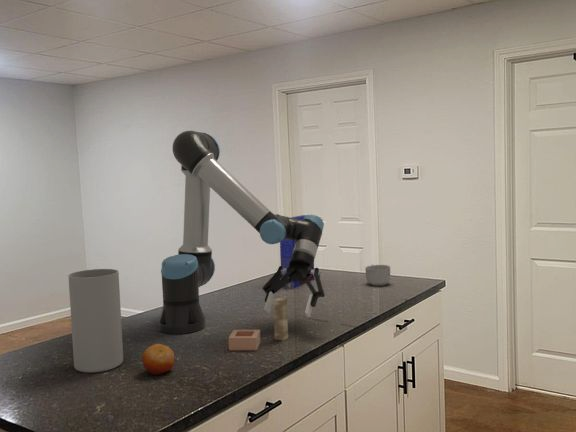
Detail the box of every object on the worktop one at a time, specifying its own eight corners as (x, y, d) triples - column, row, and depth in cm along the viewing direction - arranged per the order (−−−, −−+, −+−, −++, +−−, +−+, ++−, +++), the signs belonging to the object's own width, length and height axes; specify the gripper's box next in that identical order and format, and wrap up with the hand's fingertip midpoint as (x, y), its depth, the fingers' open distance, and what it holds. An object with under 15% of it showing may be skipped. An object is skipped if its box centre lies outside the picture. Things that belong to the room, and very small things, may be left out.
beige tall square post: (274, 339, 165) (273, 300, 164) (279, 336, 167) (277, 298, 166) (283, 340, 163) (282, 300, 162) (288, 337, 166) (286, 298, 165)
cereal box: (302, 278, 257) (301, 214, 254) (314, 279, 254) (312, 215, 252) (281, 287, 237) (279, 219, 235) (293, 288, 235) (291, 219, 232)
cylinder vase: (75, 376, 138) (69, 279, 136) (73, 361, 150) (67, 271, 148) (126, 368, 143) (121, 274, 141) (120, 354, 155) (115, 267, 153)
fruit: (159, 357, 147) (167, 335, 143) (174, 378, 142) (182, 356, 139) (132, 365, 141) (139, 343, 138) (146, 387, 137) (154, 365, 133)
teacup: (392, 286, 233) (392, 268, 232) (367, 287, 233) (366, 269, 232) (387, 280, 247) (386, 262, 246) (363, 281, 247) (362, 263, 246)
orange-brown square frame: (228, 350, 156) (228, 337, 155) (234, 341, 164) (233, 329, 163) (256, 350, 155) (256, 337, 155) (260, 341, 163) (260, 329, 163)
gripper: (342, 264, 176) (328, 323, 163) (272, 261, 186) (254, 316, 173) (336, 250, 170) (321, 310, 158) (265, 248, 180) (245, 304, 168)
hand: (286, 313), depth 166 cm, fingers open, 13 cm apart
